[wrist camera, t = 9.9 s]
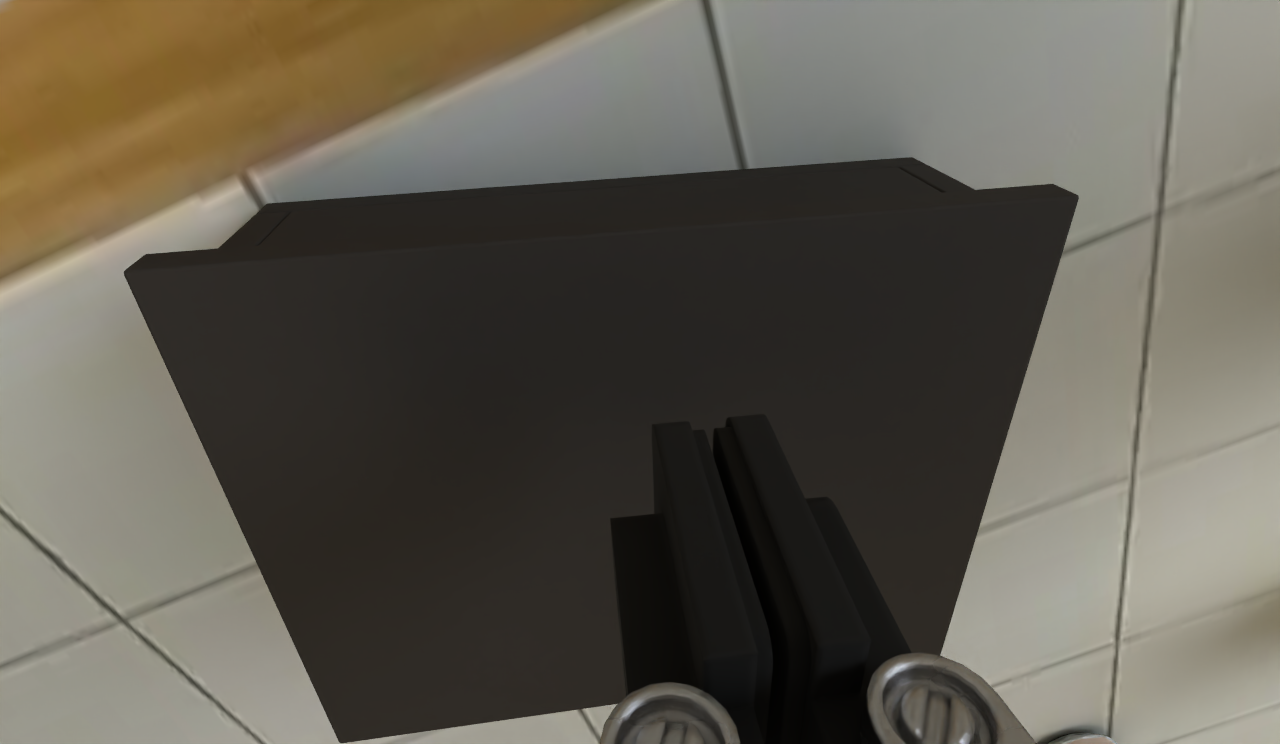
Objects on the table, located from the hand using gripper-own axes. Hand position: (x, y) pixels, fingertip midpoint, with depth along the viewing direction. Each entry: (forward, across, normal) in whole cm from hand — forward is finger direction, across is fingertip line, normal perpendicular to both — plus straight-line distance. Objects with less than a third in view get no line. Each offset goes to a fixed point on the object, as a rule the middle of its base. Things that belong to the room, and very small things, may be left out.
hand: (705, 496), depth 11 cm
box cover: (+4, +1, +4) cm, 6 cm away
